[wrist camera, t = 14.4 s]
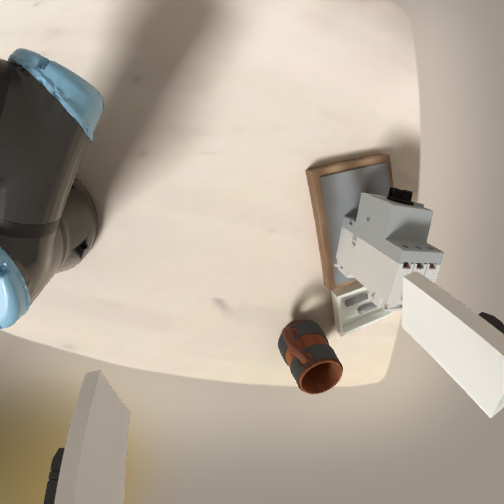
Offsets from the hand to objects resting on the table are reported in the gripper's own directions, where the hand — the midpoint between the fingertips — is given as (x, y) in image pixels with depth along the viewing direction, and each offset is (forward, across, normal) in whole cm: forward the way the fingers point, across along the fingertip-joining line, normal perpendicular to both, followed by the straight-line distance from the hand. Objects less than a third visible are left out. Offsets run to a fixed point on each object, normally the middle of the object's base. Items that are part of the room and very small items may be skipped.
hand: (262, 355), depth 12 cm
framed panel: (+35, +22, -10) cm, 42 cm away
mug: (+35, +8, -28) cm, 46 cm away
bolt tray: (+35, +22, -26) cm, 49 cm away
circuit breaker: (+32, +22, -10) cm, 40 cm away
